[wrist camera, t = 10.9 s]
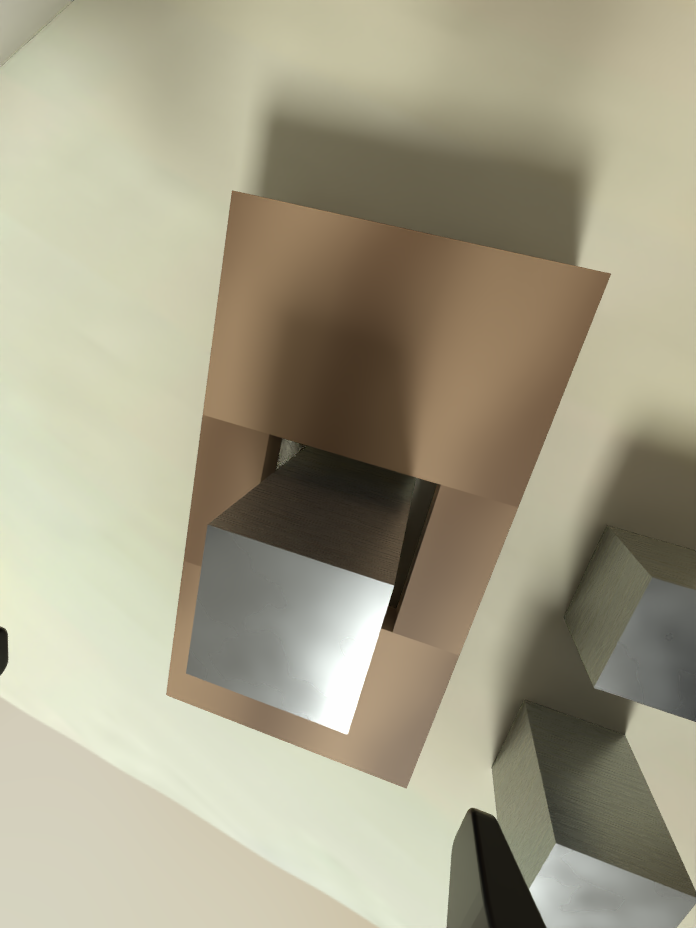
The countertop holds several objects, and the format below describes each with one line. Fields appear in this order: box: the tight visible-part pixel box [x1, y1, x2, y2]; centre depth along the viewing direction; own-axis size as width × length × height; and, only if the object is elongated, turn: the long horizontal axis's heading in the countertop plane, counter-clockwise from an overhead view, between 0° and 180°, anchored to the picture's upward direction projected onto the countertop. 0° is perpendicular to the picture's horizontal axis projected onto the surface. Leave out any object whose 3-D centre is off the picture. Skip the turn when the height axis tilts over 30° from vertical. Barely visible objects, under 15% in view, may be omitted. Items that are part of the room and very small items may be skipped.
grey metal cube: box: [564, 525, 696, 722], centre depth 16 cm, size 4×4×4 cm
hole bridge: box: [166, 191, 611, 788], centre depth 17 cm, size 11×20×4 cm, turn 166°
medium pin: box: [492, 700, 696, 928], centre depth 17 cm, size 4×4×6 cm
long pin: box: [186, 446, 416, 734], centre depth 15 cm, size 4×4×9 cm
